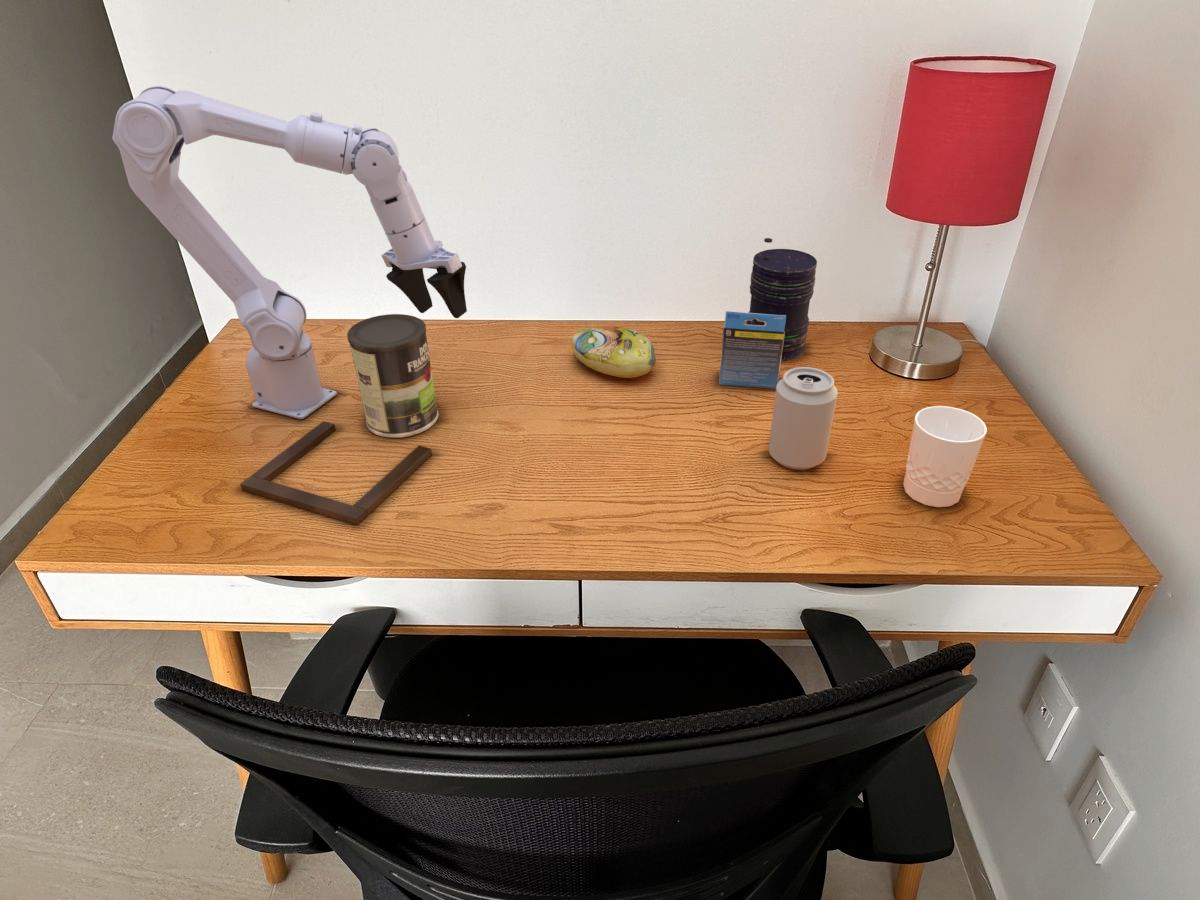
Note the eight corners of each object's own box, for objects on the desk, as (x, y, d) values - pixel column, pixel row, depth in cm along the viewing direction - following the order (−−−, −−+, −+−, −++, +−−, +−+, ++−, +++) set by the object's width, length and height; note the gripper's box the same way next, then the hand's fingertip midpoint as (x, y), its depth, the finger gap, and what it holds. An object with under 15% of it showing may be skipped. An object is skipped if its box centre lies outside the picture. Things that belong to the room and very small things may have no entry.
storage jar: (805, 336, 134) (821, 231, 124) (804, 363, 126) (821, 254, 116) (746, 331, 136) (756, 227, 126) (741, 357, 128) (751, 249, 118)
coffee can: (449, 403, 117) (437, 316, 109) (422, 442, 109) (407, 350, 101) (384, 397, 119) (367, 310, 111) (353, 434, 111) (332, 343, 103)
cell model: (625, 382, 117) (558, 320, 122) (619, 411, 123) (556, 351, 128) (676, 346, 121) (609, 287, 126) (668, 376, 128) (605, 319, 133)
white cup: (957, 518, 94) (979, 449, 88) (890, 497, 97) (907, 429, 92) (971, 484, 99) (992, 417, 94) (907, 465, 103) (924, 399, 97)
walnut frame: (241, 490, 100) (239, 484, 100) (324, 426, 112) (323, 420, 112) (357, 525, 94) (355, 519, 94) (432, 454, 106) (431, 448, 106)
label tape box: (777, 377, 122) (786, 303, 115) (777, 391, 119) (787, 315, 112) (719, 373, 124) (725, 300, 117) (718, 386, 120) (724, 311, 113)
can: (828, 446, 107) (842, 367, 100) (822, 478, 101) (837, 396, 94) (772, 437, 109) (782, 359, 102) (763, 467, 103) (773, 387, 96)
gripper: (460, 211, 104) (495, 302, 112) (393, 210, 113) (430, 293, 121) (422, 237, 101) (462, 328, 109) (356, 233, 110) (397, 318, 117)
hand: (443, 312), depth 115 cm, fingers open, 7 cm apart
